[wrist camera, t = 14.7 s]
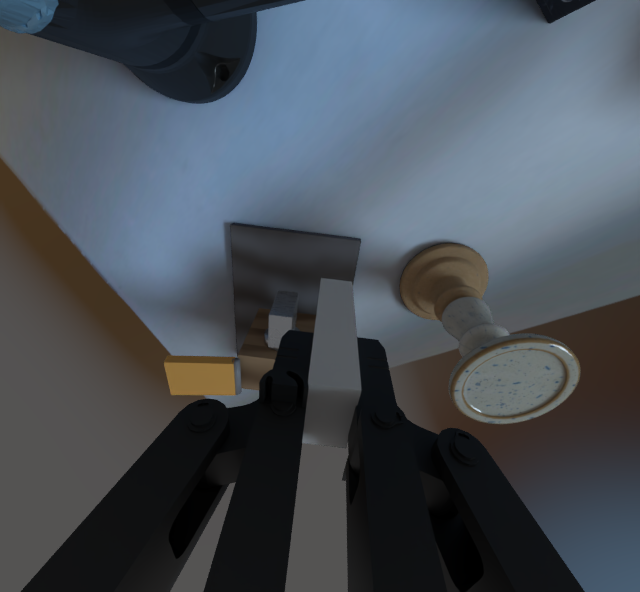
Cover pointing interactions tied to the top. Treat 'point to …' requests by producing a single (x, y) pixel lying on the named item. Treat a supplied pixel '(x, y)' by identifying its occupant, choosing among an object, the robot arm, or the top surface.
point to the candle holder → (486, 341)
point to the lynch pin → (281, 318)
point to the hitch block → (280, 284)
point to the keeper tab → (203, 375)
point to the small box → (560, 7)
